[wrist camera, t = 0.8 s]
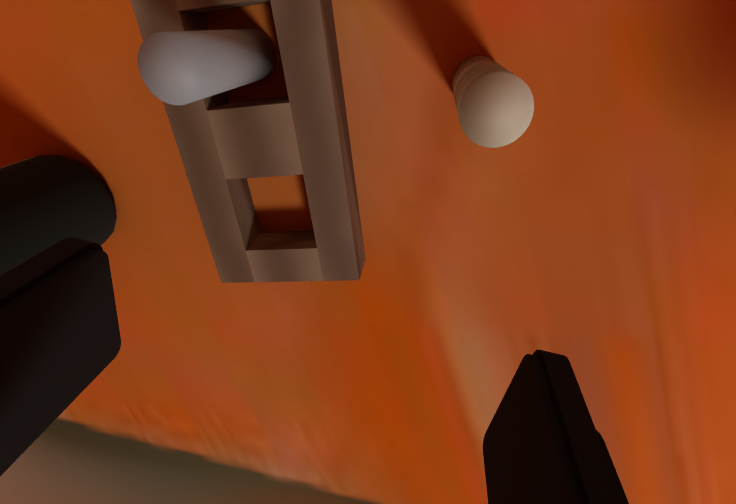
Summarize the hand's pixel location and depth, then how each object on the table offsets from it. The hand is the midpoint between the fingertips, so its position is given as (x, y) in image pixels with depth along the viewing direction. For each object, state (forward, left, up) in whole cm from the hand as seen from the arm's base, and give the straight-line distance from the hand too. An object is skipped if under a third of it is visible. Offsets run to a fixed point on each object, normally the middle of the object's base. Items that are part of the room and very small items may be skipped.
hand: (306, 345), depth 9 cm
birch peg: (-5, -3, -22) cm, 23 cm away
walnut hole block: (+9, -1, -22) cm, 23 cm away
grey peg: (+9, -6, -22) cm, 24 cm away
